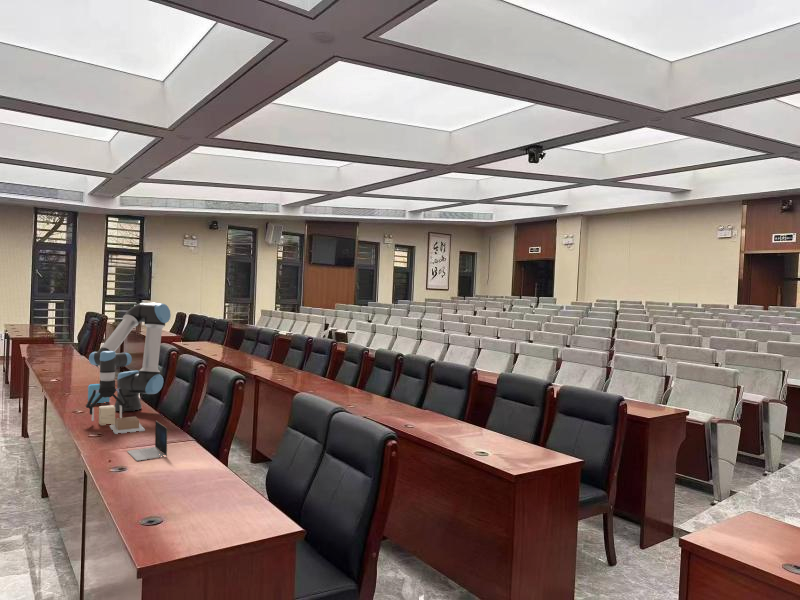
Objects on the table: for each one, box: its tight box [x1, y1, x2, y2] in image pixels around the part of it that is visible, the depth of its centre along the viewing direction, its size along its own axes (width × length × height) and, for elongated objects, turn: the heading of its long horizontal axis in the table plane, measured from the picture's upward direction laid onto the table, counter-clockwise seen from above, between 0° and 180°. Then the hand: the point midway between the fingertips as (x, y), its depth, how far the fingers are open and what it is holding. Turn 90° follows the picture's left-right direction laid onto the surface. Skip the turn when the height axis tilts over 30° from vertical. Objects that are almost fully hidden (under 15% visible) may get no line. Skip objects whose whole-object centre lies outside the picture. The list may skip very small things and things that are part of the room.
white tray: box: [109, 415, 146, 435], centre depth 308 cm, size 18×14×5 cm
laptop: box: [126, 420, 168, 462], centre depth 262 cm, size 18×12×13 cm
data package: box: [87, 383, 111, 403], centre depth 372 cm, size 12×4×12 cm, turn 119°
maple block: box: [98, 404, 116, 426], centre depth 319 cm, size 7×7×9 cm
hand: (106, 419), depth 319 cm, fingers open, 13 cm apart
